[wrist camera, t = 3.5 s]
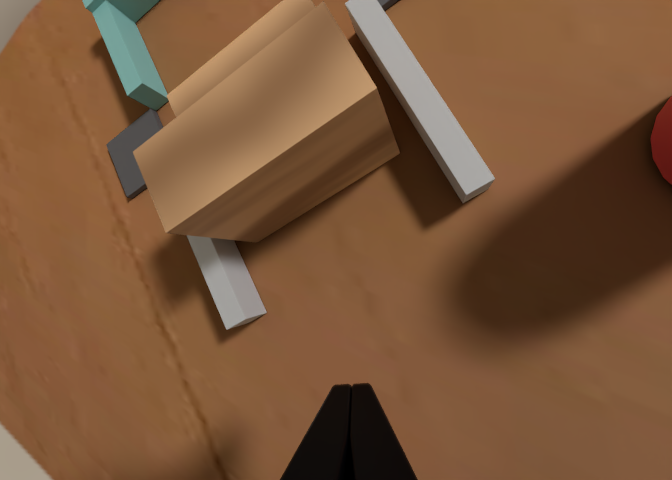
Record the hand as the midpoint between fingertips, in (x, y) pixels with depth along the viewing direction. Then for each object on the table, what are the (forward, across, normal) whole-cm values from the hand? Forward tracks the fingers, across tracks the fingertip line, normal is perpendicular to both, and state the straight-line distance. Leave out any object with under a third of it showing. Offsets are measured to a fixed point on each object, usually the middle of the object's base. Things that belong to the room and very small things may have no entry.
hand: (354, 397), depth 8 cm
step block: (+18, +4, -5) cm, 19 cm away
